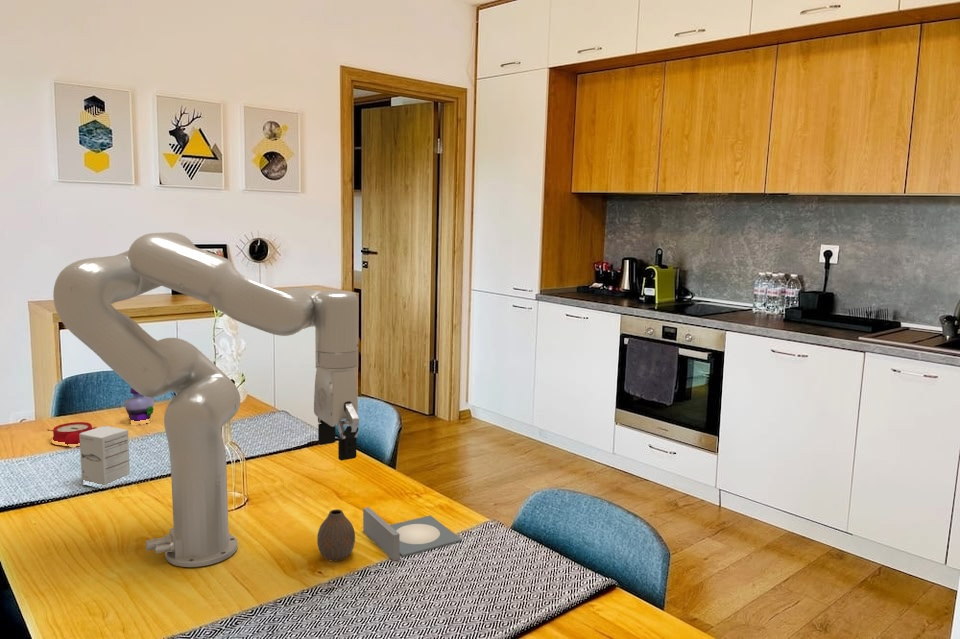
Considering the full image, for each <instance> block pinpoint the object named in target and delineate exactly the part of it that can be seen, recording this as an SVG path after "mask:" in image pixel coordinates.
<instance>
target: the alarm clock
mask: <svg viewBox="0 0 960 639" xmlns="http://www.w3.org/2000/svg"><path fill="white" fill-rule="evenodd" d="M95 428H98V427H96V426H95V427H93V426H92V424H91V423H90V422H84V421H76V422H74V421H73V422H67V423H62V424H58V425H56V426H54V428H53V429H47V431H48V432H49V431H50V432H53V433H52V434H53V435H52V439H53V440H54V441H58V442H65V444H67V445H68V444H78V443H80V436H79V434H80V433H82V432H86V431H89V430H92V429H95ZM52 439H51V440H52Z"/></svg>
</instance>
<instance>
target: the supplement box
mask: <svg viewBox="0 0 960 639" xmlns="http://www.w3.org/2000/svg"><path fill="white" fill-rule="evenodd" d="M79 436H80V446H79V451H80V452H79V453H80V468H81V469H80V470H81V481H82V480H85V481H89V482H94V483H97V484H102V485H106V484H108V483H111V482H113V481H115V480H117V479H120V478H122V477H124V476H127V475H129V474H130V475H131V471H130V470H131V468H130V450H129V449H130V448H129V446H130V445H129V429H124V428H120V427H115V426H114V427H113V426H108V425H102V426H99V427H97V428H95V429H92V430H89V431H86V432H82V433H80V434H79Z"/></svg>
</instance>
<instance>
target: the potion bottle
mask: <svg viewBox="0 0 960 639" xmlns="http://www.w3.org/2000/svg"><path fill="white" fill-rule="evenodd" d="M130 394H132V395H133V397H130V398H127V399H125V400H123V404H124V407H125V410H126V411H125V412H126V413H127V416H128V417H129V418H130V419H129V421H130V420H134V421H140V420H146V419H149V418H150V419H151V416H152V414H153V413H154V405H155V399H154V397H146V396H143V395H141V394H139V393H138V392H137V391H135V390H134V389H133V388H132V387H130Z"/></svg>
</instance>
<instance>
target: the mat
mask: <svg viewBox="0 0 960 639" xmlns="http://www.w3.org/2000/svg"><path fill="white" fill-rule="evenodd" d="M389 525H390V526H391V527H392V528H393V529H394V530H396V531H397V532H398V533H399V534H400V543H399V556H400V557H402V558H404V557H408V556H412V555H416V554H420V553H424V552H427V551H426V550H428V551H431V550H434V549H433V548H435V549H439V548H442V547H441V546H443V547H446V546H445V545H447V546H449V544H450V545H453V544H452V543H454V544H456V543H455V542H458V543H461V542H460V541H462V542H463V539H462V538H461V537H460V536H458V535H456V534H455V533H454V532H453V531H451V529H449V528H448V527H446V526H445V525H444V524H442V523H441V522H440V521H439V520H438V519H436V518H434V517H433V516H432V515H426V516H422V517H418V518H417V517H416V518H413V519H409V520H405V521H404V520H403V521H401V522H396V523H392V524H389ZM438 547H439V548H438ZM430 549H431V550H430ZM423 551H424V552H423Z"/></svg>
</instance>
